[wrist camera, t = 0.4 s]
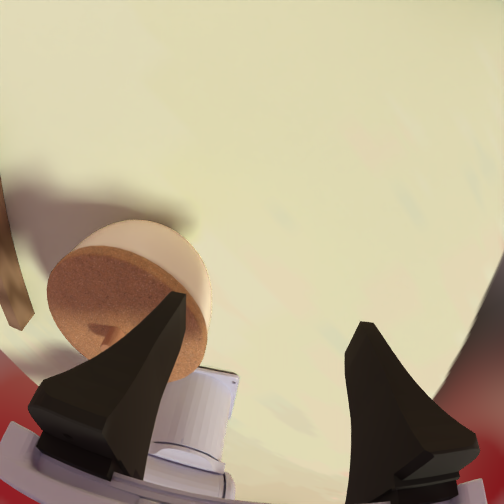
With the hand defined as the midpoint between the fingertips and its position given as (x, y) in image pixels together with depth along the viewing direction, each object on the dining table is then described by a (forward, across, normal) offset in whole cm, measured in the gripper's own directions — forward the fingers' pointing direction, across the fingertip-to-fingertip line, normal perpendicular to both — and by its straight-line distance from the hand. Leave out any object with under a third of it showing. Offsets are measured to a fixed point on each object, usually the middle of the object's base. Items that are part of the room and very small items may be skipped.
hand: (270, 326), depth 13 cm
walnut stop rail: (+10, +25, +5) cm, 28 cm away
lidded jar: (+10, +8, +5) cm, 14 cm away
